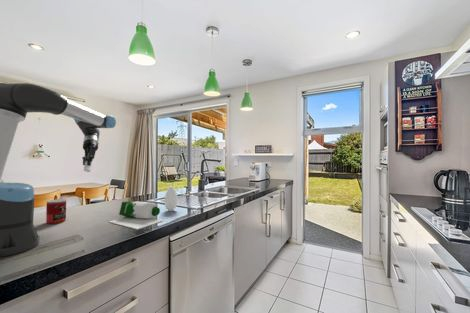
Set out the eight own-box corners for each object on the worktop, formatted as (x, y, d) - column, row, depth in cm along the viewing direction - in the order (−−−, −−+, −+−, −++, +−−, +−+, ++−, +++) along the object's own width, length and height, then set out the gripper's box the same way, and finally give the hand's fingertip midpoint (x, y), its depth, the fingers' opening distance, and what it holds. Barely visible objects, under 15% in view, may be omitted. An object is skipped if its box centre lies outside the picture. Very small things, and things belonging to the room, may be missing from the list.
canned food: (54, 224, 103) (55, 202, 103) (41, 223, 104) (42, 201, 105) (69, 220, 110) (70, 199, 110) (57, 219, 112) (58, 198, 112)
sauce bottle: (173, 212, 128) (174, 183, 128) (162, 212, 129) (162, 182, 130) (179, 209, 136) (179, 181, 136) (168, 209, 137) (168, 181, 137)
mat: (162, 221, 110) (162, 220, 110) (137, 229, 97) (137, 228, 97) (135, 215, 120) (135, 214, 120) (109, 222, 107) (109, 221, 107)
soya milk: (129, 217, 121) (158, 220, 115) (116, 216, 113) (147, 219, 107) (132, 201, 124) (161, 203, 118) (121, 199, 116) (151, 201, 110)
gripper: (102, 138, 128) (101, 164, 112) (92, 153, 131) (89, 180, 115) (89, 133, 122) (85, 159, 107) (78, 149, 126) (73, 176, 110)
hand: (87, 170), depth 111 cm, fingers closed
